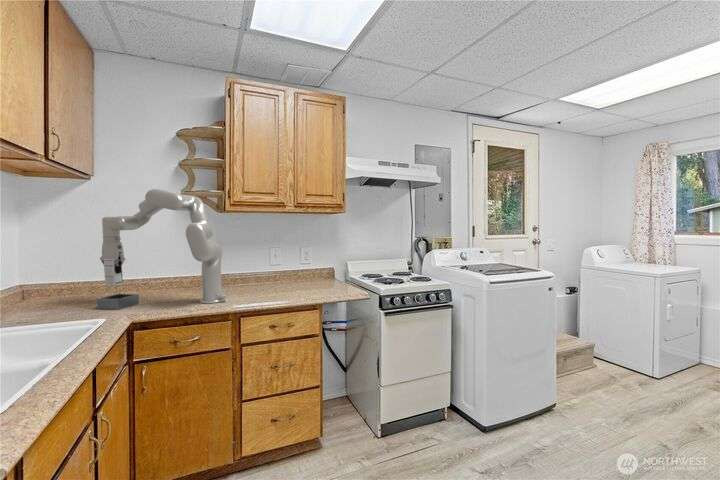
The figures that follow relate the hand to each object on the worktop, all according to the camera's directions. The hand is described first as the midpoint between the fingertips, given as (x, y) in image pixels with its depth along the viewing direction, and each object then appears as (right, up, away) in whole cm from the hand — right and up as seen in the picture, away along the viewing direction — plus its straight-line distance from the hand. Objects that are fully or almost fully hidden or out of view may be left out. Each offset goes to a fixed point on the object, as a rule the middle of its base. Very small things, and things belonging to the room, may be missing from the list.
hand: (113, 272), depth 190 cm
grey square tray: (+11, -16, -12) cm, 23 cm away
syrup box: (0, -7, 0) cm, 7 cm away
